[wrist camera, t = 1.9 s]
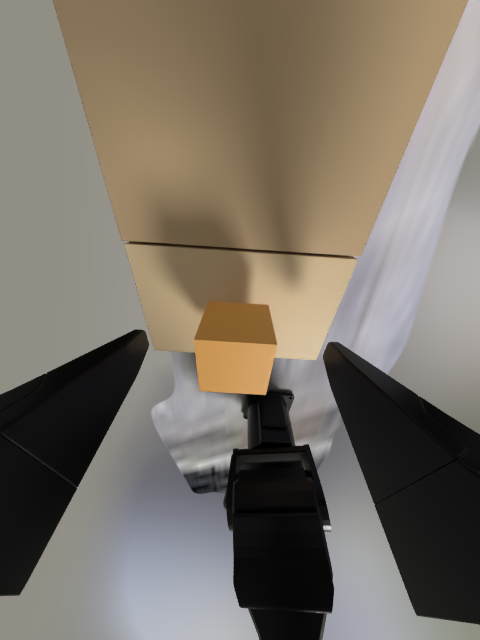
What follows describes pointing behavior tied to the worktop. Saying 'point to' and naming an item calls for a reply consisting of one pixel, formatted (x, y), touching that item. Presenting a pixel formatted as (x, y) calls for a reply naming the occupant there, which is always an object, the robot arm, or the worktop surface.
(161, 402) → the worktop surface
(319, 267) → the pull drawer
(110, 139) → the carton
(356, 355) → the robot arm
